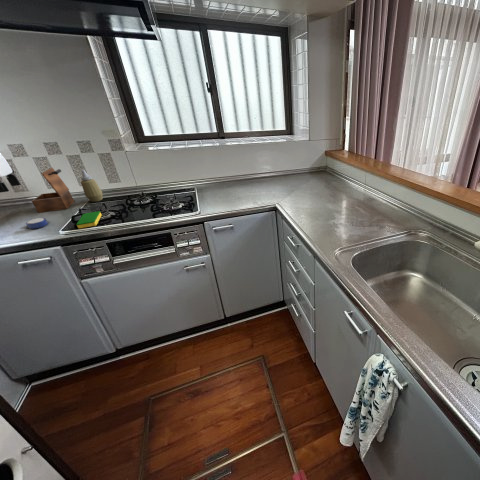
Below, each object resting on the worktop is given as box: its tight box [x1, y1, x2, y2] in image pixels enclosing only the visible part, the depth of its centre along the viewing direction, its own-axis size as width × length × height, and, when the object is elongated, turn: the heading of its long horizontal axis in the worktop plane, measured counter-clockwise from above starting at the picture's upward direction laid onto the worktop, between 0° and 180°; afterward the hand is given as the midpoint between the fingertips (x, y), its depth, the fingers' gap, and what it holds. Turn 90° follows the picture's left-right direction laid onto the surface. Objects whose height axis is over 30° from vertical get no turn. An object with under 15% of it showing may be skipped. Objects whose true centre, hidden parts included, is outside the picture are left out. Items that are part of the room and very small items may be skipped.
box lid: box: [41, 167, 70, 197], centre depth 145 cm, size 13×12×5 cm
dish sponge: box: [75, 210, 103, 229], centre depth 132 cm, size 7×14×2 cm, turn 26°
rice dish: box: [25, 217, 49, 230], centre depth 128 cm, size 7×7×3 cm
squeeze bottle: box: [80, 169, 103, 203], centre depth 154 cm, size 8×8×18 cm
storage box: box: [31, 190, 75, 214], centre depth 149 cm, size 13×12×7 cm
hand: (10, 188), depth 121 cm, fingers open, 9 cm apart
